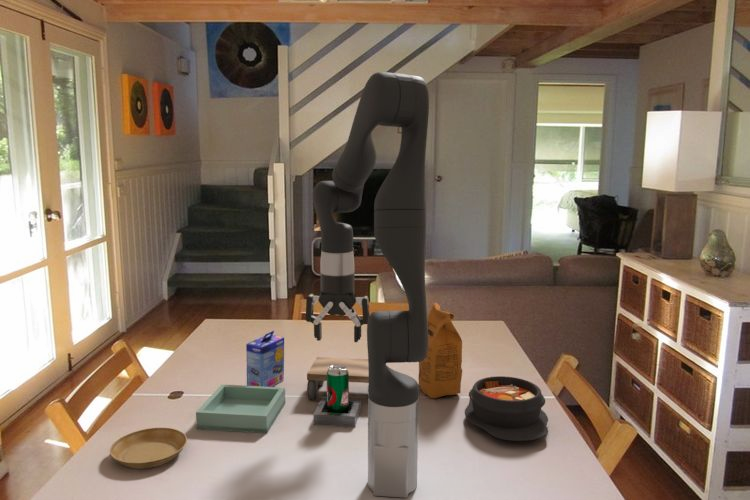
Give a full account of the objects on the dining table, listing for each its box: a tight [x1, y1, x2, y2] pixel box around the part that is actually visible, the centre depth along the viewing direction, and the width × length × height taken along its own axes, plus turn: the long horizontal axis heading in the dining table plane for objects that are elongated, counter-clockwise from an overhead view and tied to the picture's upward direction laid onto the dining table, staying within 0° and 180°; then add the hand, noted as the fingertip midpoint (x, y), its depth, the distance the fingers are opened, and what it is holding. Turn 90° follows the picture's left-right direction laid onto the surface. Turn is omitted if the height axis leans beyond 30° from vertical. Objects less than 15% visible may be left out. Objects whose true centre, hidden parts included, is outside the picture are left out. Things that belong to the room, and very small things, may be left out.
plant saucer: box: [109, 427, 188, 470], centre depth 127 cm, size 15×15×3 cm
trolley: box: [306, 356, 369, 401], centre depth 158 cm, size 14×18×7 cm
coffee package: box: [418, 302, 463, 399], centre depth 159 cm, size 10×12×22 cm
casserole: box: [464, 375, 549, 442], centre depth 142 cm, size 25×19×8 cm
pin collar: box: [313, 397, 362, 428], centre depth 145 cm, size 9×9×2 cm
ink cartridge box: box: [245, 330, 285, 387], centre depth 163 cm, size 10×6×14 cm, turn 152°
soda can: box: [326, 365, 350, 414], centre depth 144 cm, size 5×5×12 cm
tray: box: [195, 384, 286, 434], centre depth 145 cm, size 16×16×4 cm
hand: (337, 340), depth 142 cm, fingers open, 8 cm apart
